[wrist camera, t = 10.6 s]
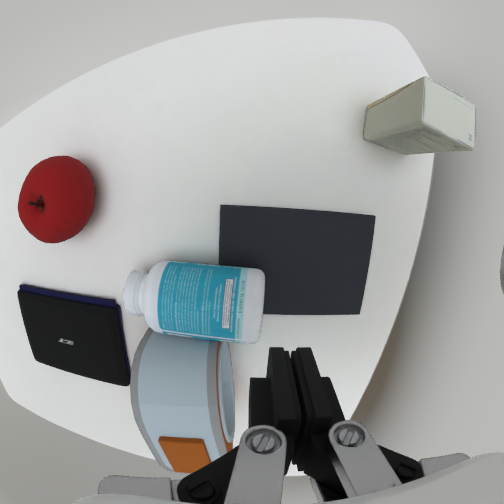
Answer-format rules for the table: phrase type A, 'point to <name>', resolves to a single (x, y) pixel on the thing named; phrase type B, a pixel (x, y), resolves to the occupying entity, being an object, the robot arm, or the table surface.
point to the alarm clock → (183, 399)
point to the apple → (56, 199)
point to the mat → (300, 256)
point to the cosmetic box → (422, 119)
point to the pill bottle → (199, 300)
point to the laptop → (76, 333)
